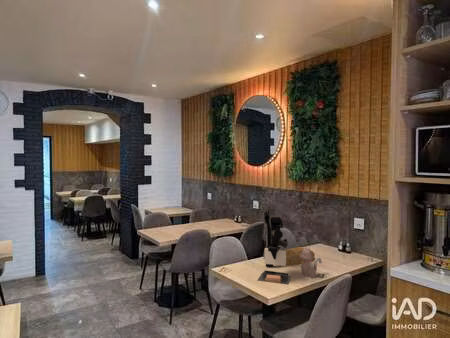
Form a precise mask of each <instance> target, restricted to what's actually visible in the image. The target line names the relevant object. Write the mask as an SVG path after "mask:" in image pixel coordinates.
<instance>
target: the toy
mask: <svg viewBox="0 0 450 338" xmlns="http://www.w3.org/2000/svg"><path fill="white" fill-rule="evenodd" d="M303 248H304V250H303V251H301V253H300V255H299V257H300V258H301V264H300V270H301V274H302V275H303V276H304V277H310V279H314V278H317V268H318V267H317V264H318V263H319V264H322V263H323V261H322V258H321V257H320V256H319V257H315V258H314V261H312V259H313V256H312V253H311V251H312V249H310V247H307V246H304V247H303Z"/></svg>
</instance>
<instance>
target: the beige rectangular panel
mask: <svg viewBox="0 0 450 338" xmlns="http://www.w3.org/2000/svg"><path fill="white" fill-rule="evenodd" d="M278 250H279V251H278V252H277V255H276V259H274V258H273V256H272V254H271V252H270V251H268V248H266V247H265V248H264V251H265V259H264V258H263V260H264V265H266V264H272V265H273V266H278V265H281V266H280V267H287V266H286V250H287V249H281V248H280V249H278Z"/></svg>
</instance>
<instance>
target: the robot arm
mask: <svg viewBox="0 0 450 338" xmlns="http://www.w3.org/2000/svg"><path fill="white" fill-rule="evenodd" d="M262 218H263V223H264V224H265V227H266V229H265V230H266V246H265V248H268V251H270V252H271V254H272V256H273V258H274V259H276V255H277V252H278V251H279V250H278V249H280V250H281V247H283V248H284V249H288V248H287V247H288V245H289V241H288V239H287V238H284V239H282V238H283V236H284V233H283V231H281V229H283V227H284V224H283V220H282V218H281V216H280V215H277V214H276V212H275V209H274V208H273V209H266V211H265V212H263V215H262ZM262 257H263V260H264V259H265V250H264V251H263V255H262ZM275 266H276V265H272V264H265V267H266V269H267V268H268V269H269V268H270V269H271V268H273V267H275Z"/></svg>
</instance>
